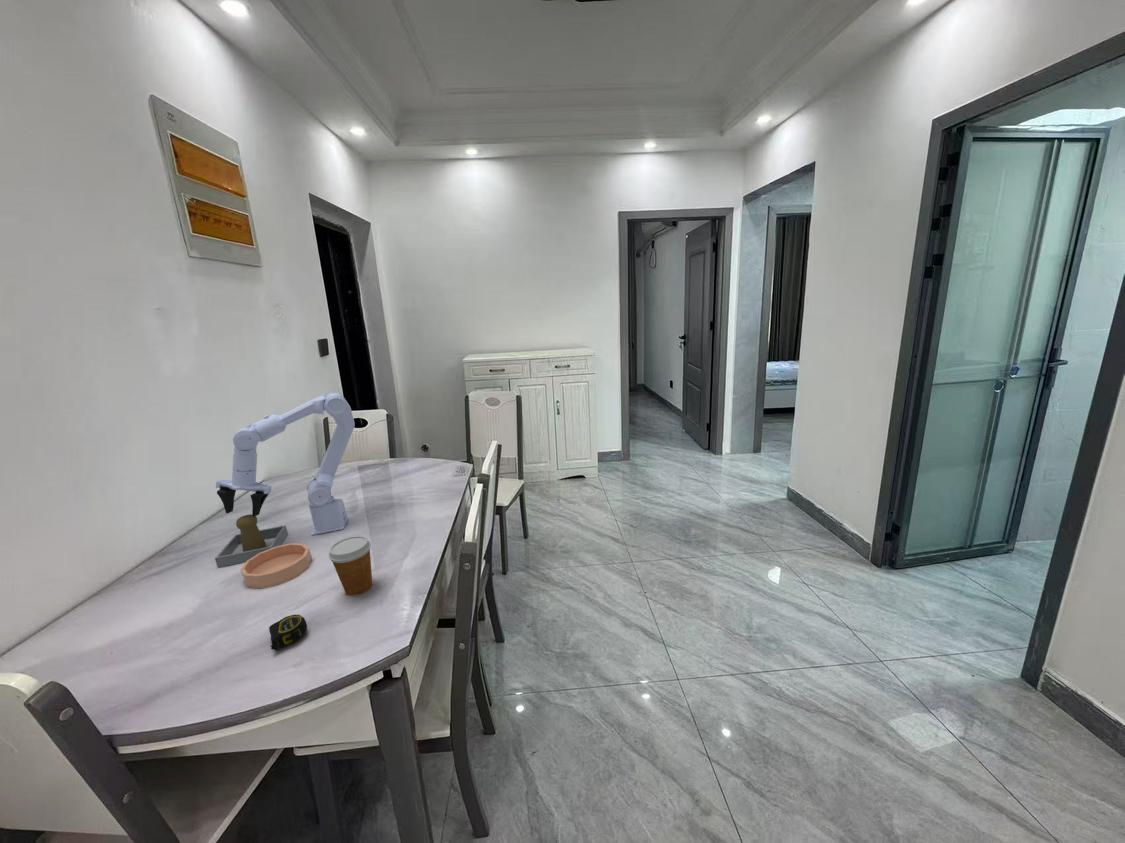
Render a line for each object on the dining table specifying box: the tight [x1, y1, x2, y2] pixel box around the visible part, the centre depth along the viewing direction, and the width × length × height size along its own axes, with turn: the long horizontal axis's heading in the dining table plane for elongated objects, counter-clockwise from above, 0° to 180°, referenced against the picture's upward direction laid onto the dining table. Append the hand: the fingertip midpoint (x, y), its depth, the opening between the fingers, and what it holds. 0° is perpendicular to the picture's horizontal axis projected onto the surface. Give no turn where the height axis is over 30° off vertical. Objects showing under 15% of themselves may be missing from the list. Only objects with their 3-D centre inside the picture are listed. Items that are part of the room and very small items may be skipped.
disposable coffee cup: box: [327, 535, 373, 597], centre depth 112 cm, size 10×10×12 cm
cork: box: [235, 514, 268, 552], centre depth 135 cm, size 6×6×11 cm
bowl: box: [240, 542, 313, 589], centre depth 124 cm, size 16×16×4 cm
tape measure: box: [268, 614, 308, 651], centre depth 97 cm, size 7×7×4 cm
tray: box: [214, 525, 289, 568], centre depth 137 cm, size 14×14×3 cm
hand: (242, 513), depth 134 cm, fingers open, 7 cm apart
